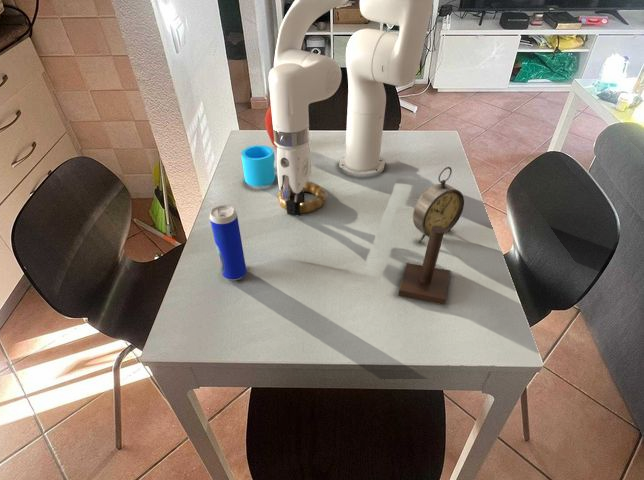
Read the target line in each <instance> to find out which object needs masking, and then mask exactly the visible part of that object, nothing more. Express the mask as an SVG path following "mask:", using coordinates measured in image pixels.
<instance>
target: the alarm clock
mask: <svg viewBox="0 0 644 480" xmlns="http://www.w3.org/2000/svg"><path fill="white" fill-rule="evenodd" d="M447 169H449V175H448V176H447V178H446V179H441V176H442V174H443V173H444V172H445V171H446V170H447ZM452 173H453V170H452V167H451V166H446V167H444V168H443V169H442V170H441V171H440V173H439V174H438V177H437V179H438V182H439V183H437V184H435V185H432V186H430V187H429V188H428V189H426V190H425V191H424V192H423V193H422V194H421V196H420V197H419V198H418V200H417V202H416V203H415V205H414V209H413V213H412V222H413V224H414V227H415V228H416V229H417V230H418V231H420V232H421V233H422V234H421V236H420V238H419V240H418V241H417V243H419V244H421V243H422V241H423V240H424V239H425V237H427V238H429V236H430V232H431V228H432V227H433V226H442V227H443V228H444V229H445V232H444V235H445V234H447V233H451V231H452V229H453V228H454V226H456V224H457V223H458V221H459V220H460V218H461V216H462V213H463V211H464V206H465V198H464V195H463V193H462V192H461V191H460V190H459V189H456V188H455V187H453V186H451V185H449V184H448V183H447V181H448V180H449V179H450V178H451V176H452Z"/></svg>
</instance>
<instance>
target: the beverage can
mask: <svg viewBox="0 0 644 480" xmlns="http://www.w3.org/2000/svg"><path fill="white" fill-rule="evenodd" d="M209 221H210V225H211V229H212V230H211V231H212V235H213V239H214V244H215V248H216V253H217V257H218V262H219V266H220V270H221V271H220V272H221V275H222V276H223V278H225V279H226V280H228V281H233V282H234V281H239V280H241V279H242V278H244V277H245V275H246V273H247V266H246V260H245V255H244V254H245V253H244V249H243V241H242V236H241V229H240V224H239V223H240V222H239V218H238V213H237V212H236V208H234V207H233V206H231V205H228V204H221V205H220V204H219V205H217V206H214V207H213V208H211V210H210V212H209Z"/></svg>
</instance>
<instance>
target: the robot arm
mask: <svg viewBox="0 0 644 480" xmlns="http://www.w3.org/2000/svg"><path fill="white" fill-rule="evenodd" d="M347 2H349V0H294V1H293V2H292V4H291V5H290V7H289V9H288V10H287V12H286V14H285V16H284V17H283V20H282V22H281V24H280V26H279V31H278V35H277V39H276V40H277V41H276V46H275V52H274V60H273V67H272V68H271V69H270V71H269V73H268V89H269V99H270V105H271V111H272V122H273V133H274V143H275V145H276V146H277V148H276V170H277V171H276V172H277V182H278V188H279V189H278V190H279V191H283V200H286V206H287V210H286V214H287V215H291V216H298V217H300V215H301V213H300V203H303V202H306V201H305V192H304V186H305V184H306V183H307V182H309V179H310V177H311V176H312V160H311V148H310V118H309V116H310V115H309V114H310V113H309V106H310V104H313V103H317V102H320V101H324V100H328V99H329V98H331V97H332V96H333V95H335V93H336V92H337V91H338V89H339V88H340V85H341V83H342V70H341V69H342V68H341V66H340V65H339V63H338V62H337V60H335V59H334V58H333V57H331V56H327V55H323V54H320V53H315V52H311V51H307V50H303V49H302V48H303V43H304V39H305V38H306V37H305V36H306V34H307V33H308V30H309V28H310V27H311V26H312V25H313V23H314V22H316V21H317V20H318V18H320V17H322V16H323V15H324V14H326V13H328V12H330V11H331V10H333V9H335V8H337V7H340V6H341V5H343V4H346V3H347ZM433 5H434V0H359V11H360V14H361V16H362V17H363V18H365V19H366V20H368V21H372V22H375V23H379V24H380V23H381V24H384V25H385V24H386V25H392V26H397V27H399V33H396V32H391V31H388V30H387V31H386V30H381V29H375V28H362V29H359V30H357V31H355V32H354V33H353V34H352V35H351V36H350V38H349V39H348V42H347V44H346V49H345V64H346V65H345V66H346V74H347V84H348V88H347V90H348V91H347V92H348V93H347V109H346V110H347V112H346V113H347V114H346V133H345V151H344V153H345V154H344V156H342V157H341V159H340V160H339V162H338V163H339V164H338V167H339V168H341V169H342V170H344V171H345V172H348V173H351V174H356V175H369V174H374V173H378V174H381V173H382V172H383V171H384V169H385V165H386V163H385V161H384V159H383V158H381V151H382V150H381V149H382V142H383V141H382V140H383V133H384V132H383V131H384V124H385V113H386V104H387V93H386V89H385V86H384V84H387V85H391V86H395V87H406V86H409V85H410V84H411V83H412V82H413V81H414V79H415V78H416V76H417V74H418V71H419V68H420V64H421V61H422V56H423V52H424V49H425V42H426V38H427V34H428V30H429V25H430V19H431V16H432V11H433ZM290 192H291V194H290Z"/></svg>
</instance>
